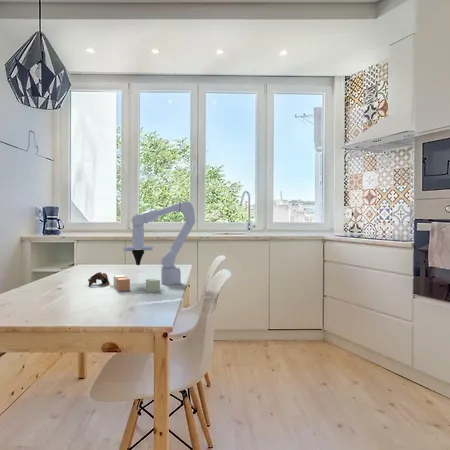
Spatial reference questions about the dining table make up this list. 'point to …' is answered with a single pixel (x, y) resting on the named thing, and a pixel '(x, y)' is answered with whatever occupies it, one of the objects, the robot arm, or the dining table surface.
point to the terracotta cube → (123, 284)
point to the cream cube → (116, 279)
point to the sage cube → (152, 285)
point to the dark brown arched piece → (99, 278)
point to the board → (134, 289)
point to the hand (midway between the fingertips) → (138, 264)
